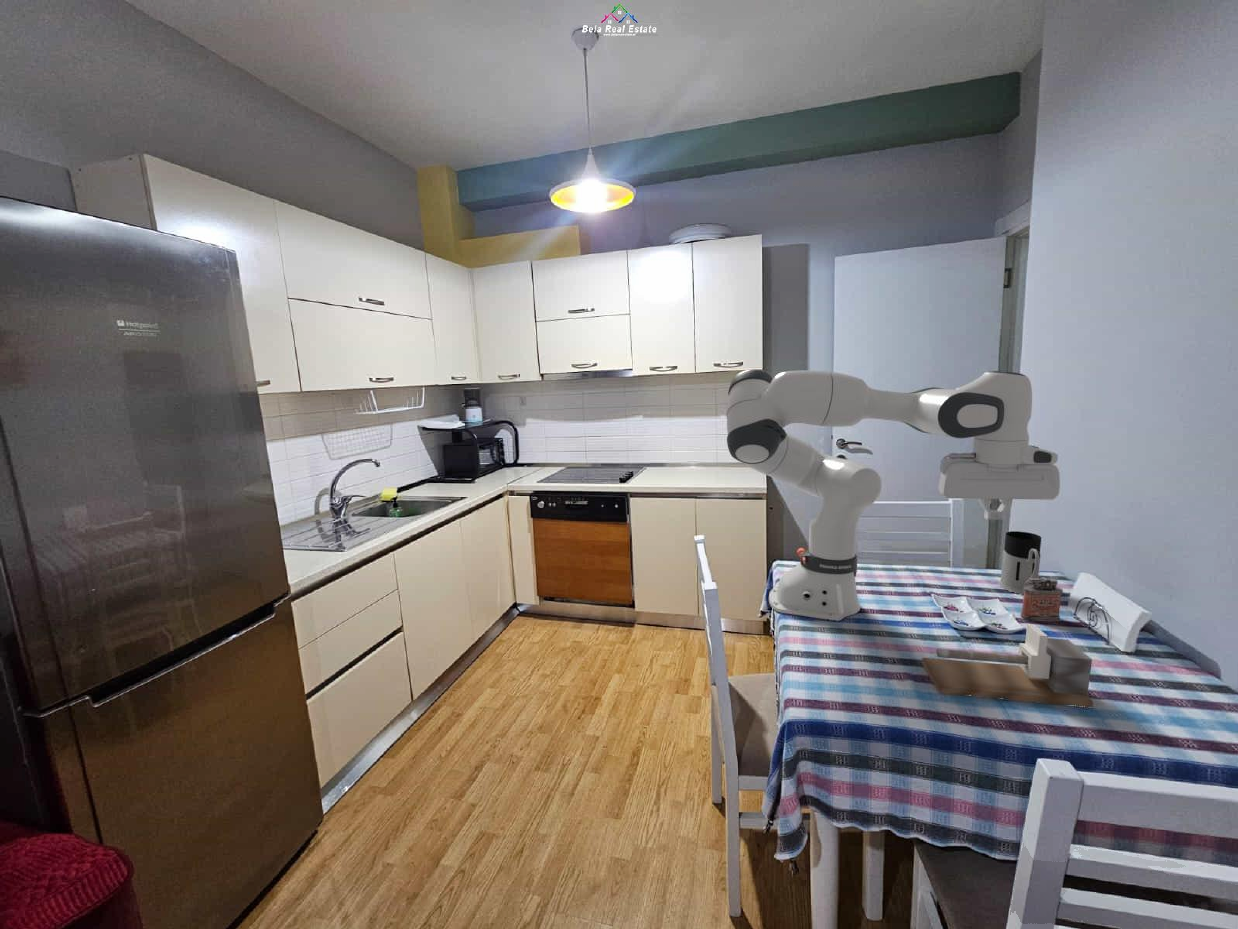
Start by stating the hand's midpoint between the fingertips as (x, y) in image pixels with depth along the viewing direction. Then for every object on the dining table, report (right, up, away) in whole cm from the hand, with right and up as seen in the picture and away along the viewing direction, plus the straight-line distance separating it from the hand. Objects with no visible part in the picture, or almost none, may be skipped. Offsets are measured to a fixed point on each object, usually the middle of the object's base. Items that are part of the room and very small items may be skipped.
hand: (993, 519), depth 105 cm
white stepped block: (+1, -28, -9) cm, 29 cm away
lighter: (+24, -26, +18) cm, 39 cm away
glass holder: (+30, -23, +31) cm, 49 cm away
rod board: (-4, -31, -7) cm, 32 cm away
